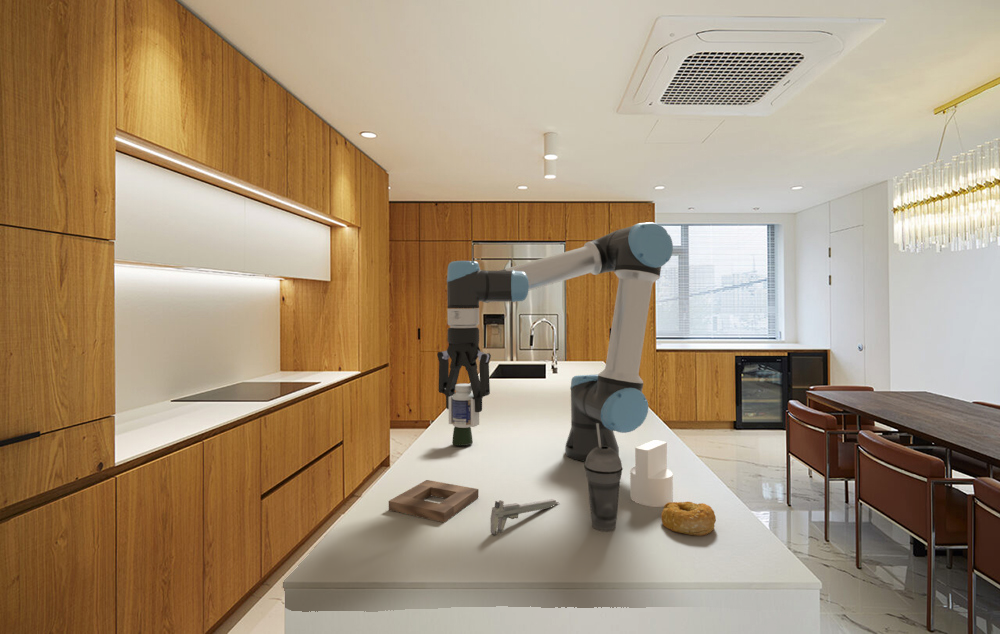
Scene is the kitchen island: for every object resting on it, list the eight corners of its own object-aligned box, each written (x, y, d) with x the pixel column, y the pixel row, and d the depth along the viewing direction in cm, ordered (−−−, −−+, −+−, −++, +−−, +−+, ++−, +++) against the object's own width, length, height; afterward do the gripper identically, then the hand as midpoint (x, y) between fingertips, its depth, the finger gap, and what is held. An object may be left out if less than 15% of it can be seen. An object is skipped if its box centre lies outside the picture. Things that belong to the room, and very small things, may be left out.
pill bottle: (471, 428, 115) (471, 386, 115) (449, 427, 116) (449, 386, 116) (477, 423, 120) (477, 383, 120) (456, 422, 122) (456, 382, 121)
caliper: (494, 537, 93) (494, 504, 93) (490, 535, 94) (490, 502, 94) (559, 504, 108) (559, 476, 108) (555, 503, 109) (555, 475, 109)
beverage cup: (615, 538, 92) (615, 430, 92) (578, 528, 96) (578, 425, 95) (627, 523, 98) (627, 422, 98) (592, 515, 102) (592, 418, 102)
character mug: (482, 446, 153) (482, 403, 152) (465, 450, 148) (464, 407, 147) (460, 439, 161) (459, 399, 160) (442, 443, 156) (442, 402, 155)
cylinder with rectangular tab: (643, 488, 117) (643, 437, 117) (680, 498, 110) (680, 444, 110) (622, 498, 111) (622, 445, 110) (660, 510, 104) (660, 453, 104)
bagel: (704, 515, 102) (704, 492, 102) (724, 540, 91) (724, 514, 91) (655, 513, 103) (654, 491, 103) (668, 538, 92) (668, 513, 92)
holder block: (478, 497, 112) (478, 489, 112) (444, 522, 99) (444, 512, 99) (426, 488, 118) (426, 479, 118) (388, 510, 105) (388, 500, 105)
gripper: (422, 326, 119) (422, 423, 119) (490, 328, 110) (490, 432, 111) (439, 325, 125) (440, 417, 126) (505, 326, 117) (505, 424, 117)
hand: (463, 424), depth 118 cm, fingers closed on pill bottle, 5 cm apart
